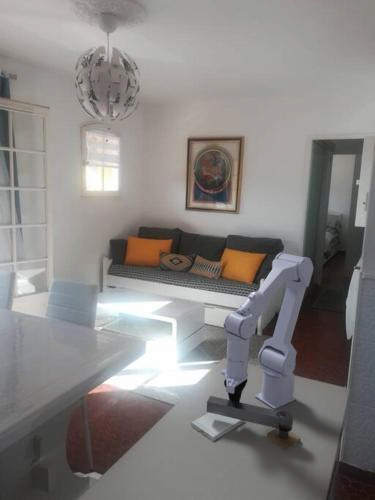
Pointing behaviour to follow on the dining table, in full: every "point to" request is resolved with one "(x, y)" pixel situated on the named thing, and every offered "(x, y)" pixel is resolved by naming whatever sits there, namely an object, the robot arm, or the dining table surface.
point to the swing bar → (250, 413)
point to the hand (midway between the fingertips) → (234, 404)
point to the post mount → (283, 438)
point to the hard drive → (215, 425)
